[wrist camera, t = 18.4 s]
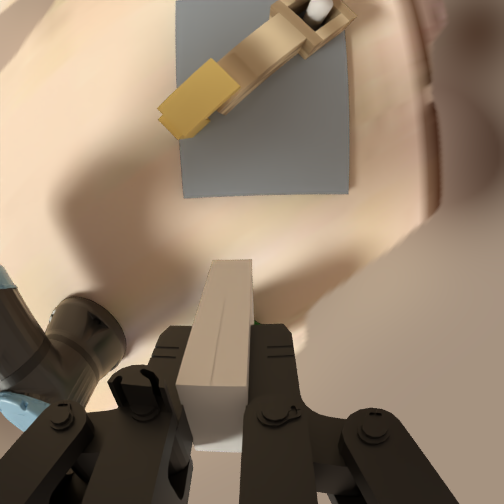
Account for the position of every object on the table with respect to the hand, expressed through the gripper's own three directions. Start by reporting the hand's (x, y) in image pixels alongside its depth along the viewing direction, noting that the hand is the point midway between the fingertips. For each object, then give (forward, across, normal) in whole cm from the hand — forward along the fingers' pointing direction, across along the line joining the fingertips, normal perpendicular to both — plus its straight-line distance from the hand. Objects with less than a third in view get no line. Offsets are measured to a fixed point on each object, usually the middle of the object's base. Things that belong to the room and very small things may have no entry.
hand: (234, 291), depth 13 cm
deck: (+29, +2, +12) cm, 32 cm away
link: (+28, +3, +16) cm, 32 cm away
